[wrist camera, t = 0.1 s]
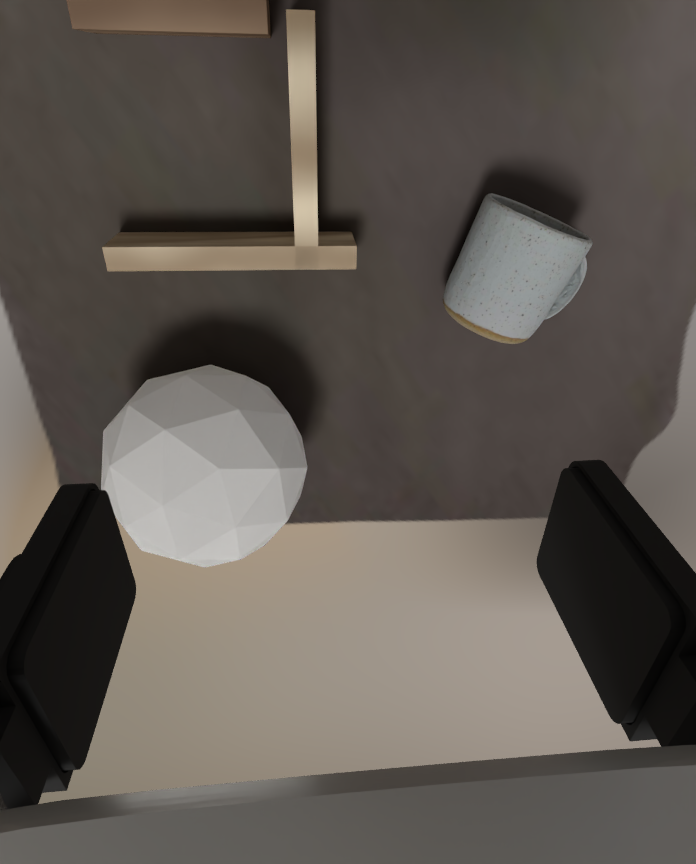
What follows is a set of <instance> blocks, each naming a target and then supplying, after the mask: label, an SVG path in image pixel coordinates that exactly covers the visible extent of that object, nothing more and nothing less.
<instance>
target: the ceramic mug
mask: <svg viewBox="0 0 696 864" xmlns="http://www.w3.org/2000/svg"><path fill="white" fill-rule="evenodd" d="M592 244H593V243H592V240H591V238H590V237H588V236H587V235H585V234H584V233H582V232H580V231H578V230H576V229H574V228H572V227H571V226H569V225H567V224H565V223H563V222H561V221H559V220H557V219H555V218H553V217H551V216H549V215H547V214H544V213H543V212H540V211H537V210H535V209H533V208H530V207H529V206H527V205H524V204H522V203H519V202H516V201H514V200H512V199H509V198H506V197H503V196H500V195H497V194H493V193H490V194H487V195H486V196H485V197H484V199H483V202H482V204H481V206H480V209H479V211H478V213H477V215H476V218H475V220H474V222H473V224H472V227H471V229H470V231H469V233H468V236H467V238H466V240H465V243H464V245H463V248H462V250H461V252H460V255H459V257H458V259H457V261H456V264H455V266H454V268H453V270H452V272H451V274H450V276H449V279H448V281H447V284H446V288H445V292H444V296H443V303H444V306H445V309H446V310H447V312H448V314H449V315H450V316H451V317H452V318H453V319H455V320H456V321H457V322H458V323H460V324H461V325H463V326H464V327H466V328H468V329H469V330H471V331H473V332H475V333H477V334H479V335H481V336H483V337H486V338H488V339H491V340H494V341H498V342H502V343H509V344H517V343H521V342H524V341H526V340H527V339H528V338H529V337H530V336H531V335H532V334H533V333H534V332H535V331H536V330H537V328H538V327H539V326H540V324H541V323H542V322H543V320H544V319H548V318H550V317H552V316H554V315H555V314H557V313H558V312H559V311H561V310H562V309H563V308H564V307H565V306H566V305H567V304H568V303H569V302H570V301H571V299H572V298H573V297H574V295H575V294H576V293H577V291H578V290H579V288H580V286H581V284H582V282H583V280H584V277H585V274H586V271H587V261H586V257H585V256H586V254H587V252H588V251H589V249H590V247H591V246H592Z"/></svg>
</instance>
